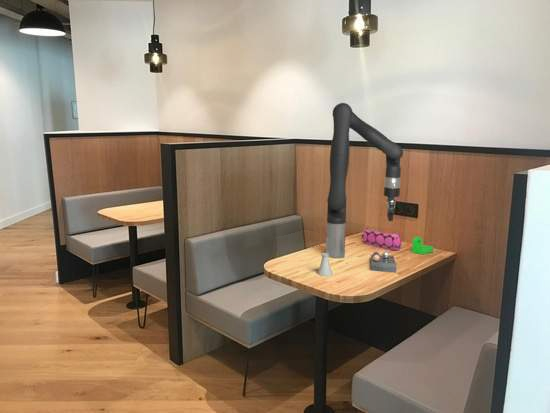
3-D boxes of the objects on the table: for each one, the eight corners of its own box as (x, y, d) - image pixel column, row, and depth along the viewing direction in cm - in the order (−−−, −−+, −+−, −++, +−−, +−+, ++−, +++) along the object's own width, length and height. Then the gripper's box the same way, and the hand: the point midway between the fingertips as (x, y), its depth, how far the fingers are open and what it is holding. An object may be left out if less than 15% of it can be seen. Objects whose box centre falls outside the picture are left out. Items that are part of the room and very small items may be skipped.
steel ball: (382, 258, 211) (382, 252, 210) (382, 256, 214) (382, 250, 213) (389, 259, 210) (389, 252, 210) (388, 257, 213) (389, 250, 213)
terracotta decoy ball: (372, 262, 205) (373, 255, 205) (372, 260, 208) (373, 253, 208) (379, 262, 205) (380, 255, 204) (379, 260, 208) (379, 254, 207)
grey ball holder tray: (371, 270, 200) (371, 262, 200) (370, 259, 218) (371, 251, 217) (396, 272, 198) (396, 264, 197) (393, 260, 216) (393, 253, 215)
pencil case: (360, 245, 245) (360, 228, 243) (369, 242, 252) (370, 225, 250) (394, 253, 230) (395, 234, 228) (403, 249, 237) (404, 231, 235)
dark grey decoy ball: (372, 259, 210) (372, 252, 209) (372, 257, 213) (372, 251, 212) (379, 259, 209) (379, 253, 209) (379, 257, 212) (379, 251, 212)
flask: (322, 272, 199) (322, 250, 197) (336, 275, 195) (336, 253, 193) (313, 276, 194) (313, 254, 192) (327, 279, 189) (327, 257, 187)
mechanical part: (421, 254, 227) (422, 239, 226) (411, 252, 232) (412, 237, 231) (435, 250, 234) (436, 236, 233) (425, 248, 239) (426, 234, 238)
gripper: (383, 184, 220) (381, 215, 223) (384, 188, 206) (382, 221, 209) (398, 185, 218) (396, 216, 221) (401, 188, 205) (398, 222, 207)
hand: (389, 219), depth 215 cm, fingers open, 8 cm apart
